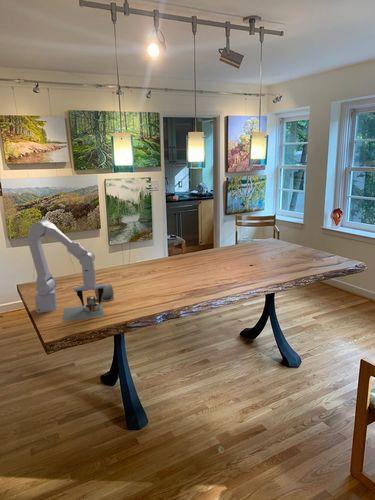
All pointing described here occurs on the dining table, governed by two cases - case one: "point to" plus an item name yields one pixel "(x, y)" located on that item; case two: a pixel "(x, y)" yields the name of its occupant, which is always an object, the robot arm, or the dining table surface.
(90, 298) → the knob
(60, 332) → the dining table surface
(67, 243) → the robot arm
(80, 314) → the hub board
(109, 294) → the ceramic mug
